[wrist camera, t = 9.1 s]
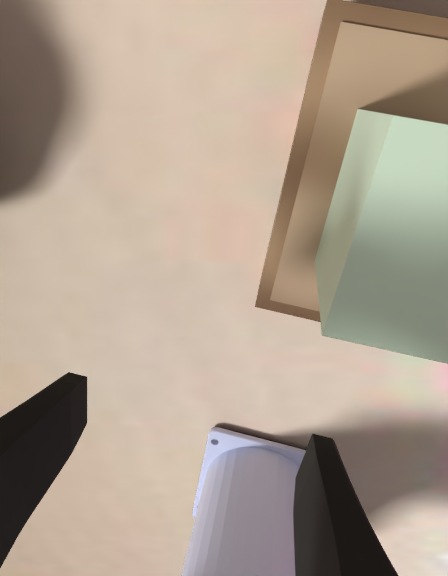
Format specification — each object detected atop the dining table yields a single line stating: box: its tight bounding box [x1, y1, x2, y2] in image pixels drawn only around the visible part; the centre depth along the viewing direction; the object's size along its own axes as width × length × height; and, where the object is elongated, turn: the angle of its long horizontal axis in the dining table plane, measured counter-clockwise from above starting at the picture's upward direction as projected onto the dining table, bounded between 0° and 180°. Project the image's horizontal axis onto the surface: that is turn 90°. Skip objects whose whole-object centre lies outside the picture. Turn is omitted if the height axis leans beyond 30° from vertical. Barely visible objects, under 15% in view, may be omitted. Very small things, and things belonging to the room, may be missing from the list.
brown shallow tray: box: [255, 0, 448, 322], centre depth 17 cm, size 12×10×3 cm
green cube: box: [315, 109, 448, 364], centre depth 13 cm, size 6×6×6 cm
